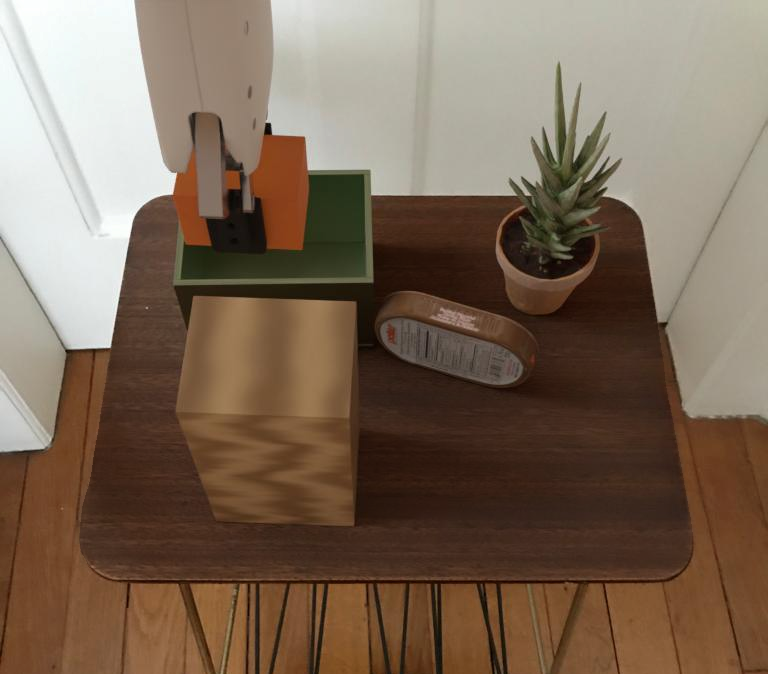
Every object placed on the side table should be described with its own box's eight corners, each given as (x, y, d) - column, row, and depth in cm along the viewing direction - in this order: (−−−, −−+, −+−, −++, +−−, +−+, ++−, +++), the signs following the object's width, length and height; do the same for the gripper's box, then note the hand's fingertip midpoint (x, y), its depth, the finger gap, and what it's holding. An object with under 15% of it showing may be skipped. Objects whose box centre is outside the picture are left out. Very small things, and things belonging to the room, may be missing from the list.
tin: (531, 377, 85) (547, 321, 77) (523, 403, 83) (538, 350, 76) (381, 333, 87) (382, 275, 79) (370, 358, 85) (370, 302, 78)
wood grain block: (216, 521, 78) (175, 411, 62) (228, 422, 82) (193, 295, 66) (354, 526, 78) (349, 417, 62) (359, 427, 82) (356, 301, 66)
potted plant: (487, 252, 91) (524, 30, 69) (580, 255, 91) (648, 35, 69) (488, 332, 87) (528, 124, 65) (586, 336, 87) (660, 128, 65)
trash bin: (373, 348, 86) (373, 282, 77) (193, 351, 86) (173, 285, 77) (370, 241, 92) (370, 169, 83) (201, 244, 91) (183, 171, 83)
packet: (185, 244, 53) (172, 194, 50) (196, 182, 56) (184, 130, 52) (302, 250, 53) (297, 200, 50) (309, 188, 56) (305, 135, 52)
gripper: (137, -217, 42) (202, 110, 58) (64, 29, 34) (162, 324, 51) (299, -210, 42) (318, 115, 58) (260, 38, 34) (295, 330, 51)
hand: (245, 210), depth 54 cm, fingers closed on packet, 5 cm apart
